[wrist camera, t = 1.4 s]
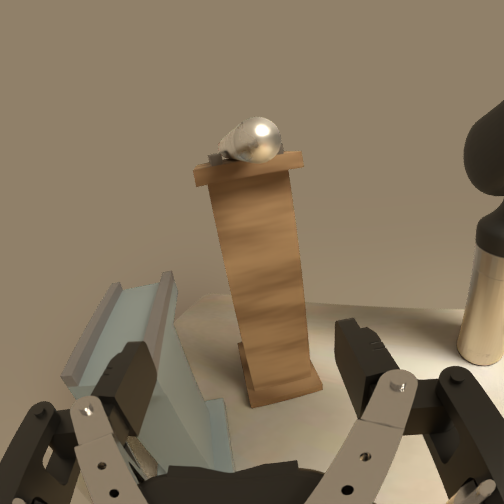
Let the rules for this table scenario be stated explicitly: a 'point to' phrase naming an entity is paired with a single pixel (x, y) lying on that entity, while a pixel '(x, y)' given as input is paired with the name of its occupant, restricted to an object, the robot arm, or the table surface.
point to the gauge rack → (168, 376)
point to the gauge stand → (263, 272)
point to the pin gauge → (252, 141)
